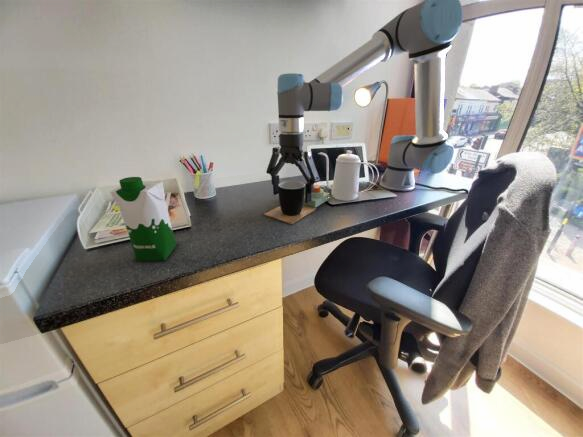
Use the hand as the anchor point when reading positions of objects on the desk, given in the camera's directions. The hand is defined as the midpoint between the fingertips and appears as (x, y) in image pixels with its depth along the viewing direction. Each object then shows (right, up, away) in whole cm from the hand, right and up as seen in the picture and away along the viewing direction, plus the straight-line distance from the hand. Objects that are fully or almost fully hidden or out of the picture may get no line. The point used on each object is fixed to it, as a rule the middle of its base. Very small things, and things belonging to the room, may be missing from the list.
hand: (291, 197), depth 82 cm
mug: (-1, -5, +3) cm, 5 cm away
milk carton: (-34, -16, -21) cm, 43 cm away
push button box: (+6, 0, +13) cm, 15 cm away
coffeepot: (+22, +2, +17) cm, 27 cm away
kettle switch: (+9, +3, +10) cm, 14 cm away
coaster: (0, -5, +2) cm, 5 cm away
